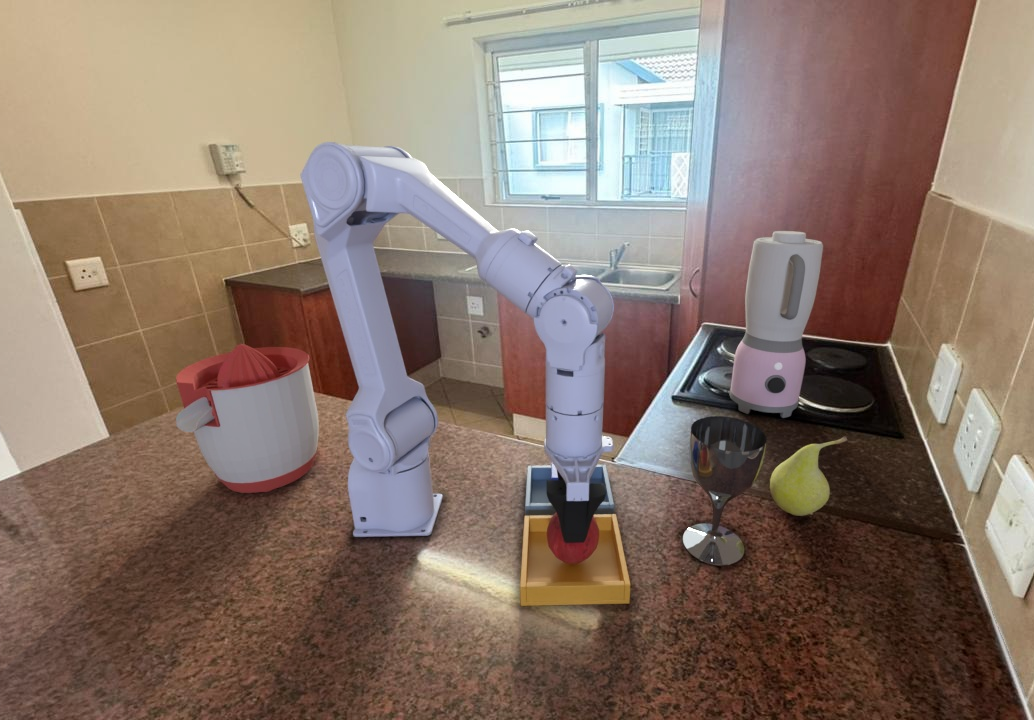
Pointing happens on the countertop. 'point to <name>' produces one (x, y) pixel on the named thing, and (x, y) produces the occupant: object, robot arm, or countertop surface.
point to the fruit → (801, 481)
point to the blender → (776, 322)
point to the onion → (571, 551)
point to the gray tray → (538, 491)
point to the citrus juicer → (252, 415)
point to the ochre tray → (573, 568)
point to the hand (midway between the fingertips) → (572, 515)
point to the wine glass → (722, 480)
